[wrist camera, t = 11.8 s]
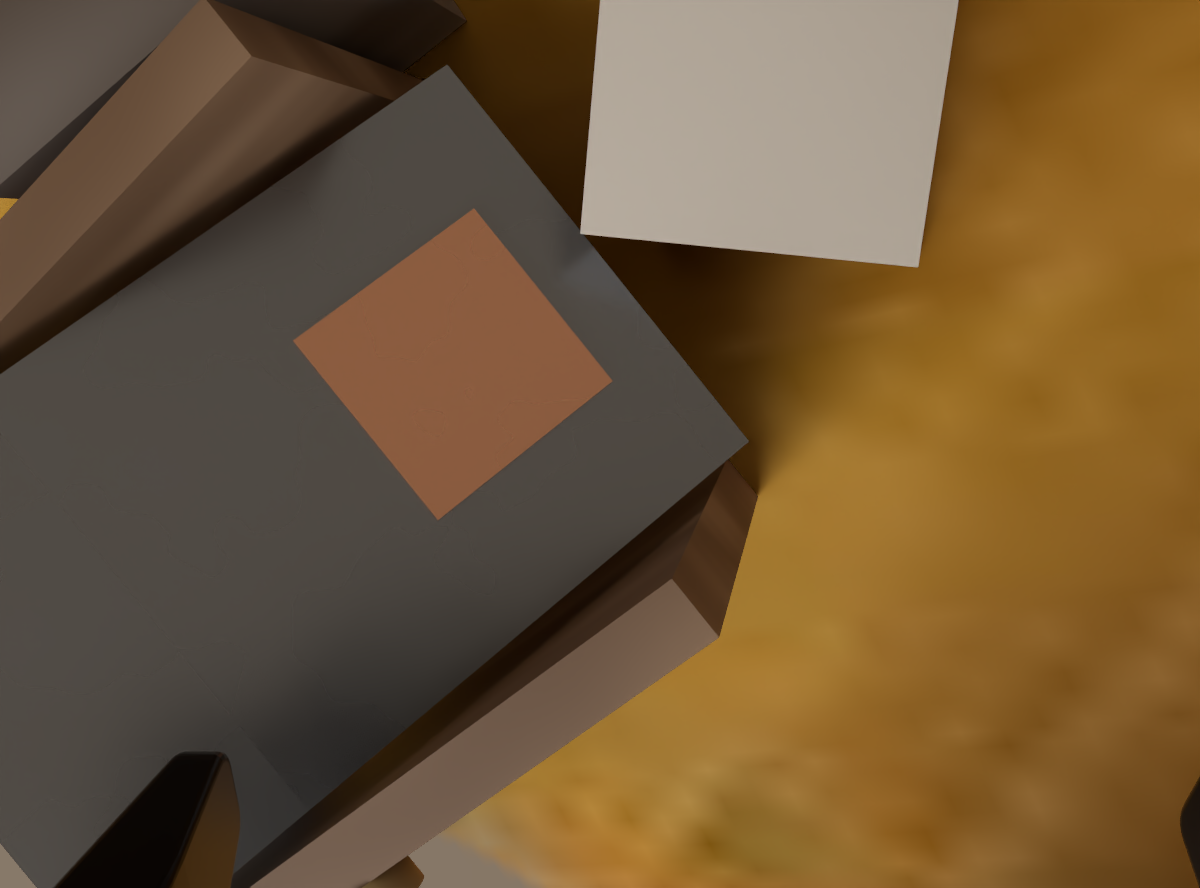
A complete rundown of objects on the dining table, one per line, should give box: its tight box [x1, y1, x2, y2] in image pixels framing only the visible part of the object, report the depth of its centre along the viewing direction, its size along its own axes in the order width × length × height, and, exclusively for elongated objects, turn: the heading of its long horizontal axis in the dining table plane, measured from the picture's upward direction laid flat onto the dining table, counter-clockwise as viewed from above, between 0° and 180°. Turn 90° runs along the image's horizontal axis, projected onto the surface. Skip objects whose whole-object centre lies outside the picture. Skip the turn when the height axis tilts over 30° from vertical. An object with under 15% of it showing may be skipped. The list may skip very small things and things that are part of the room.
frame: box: [0, 0, 758, 888], centre depth 19 cm, size 12×11×8 cm
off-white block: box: [580, 0, 959, 267], centre depth 18 cm, size 5×6×7 cm
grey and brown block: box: [0, 65, 749, 888], centre depth 19 cm, size 8×12×6 cm, turn 130°
